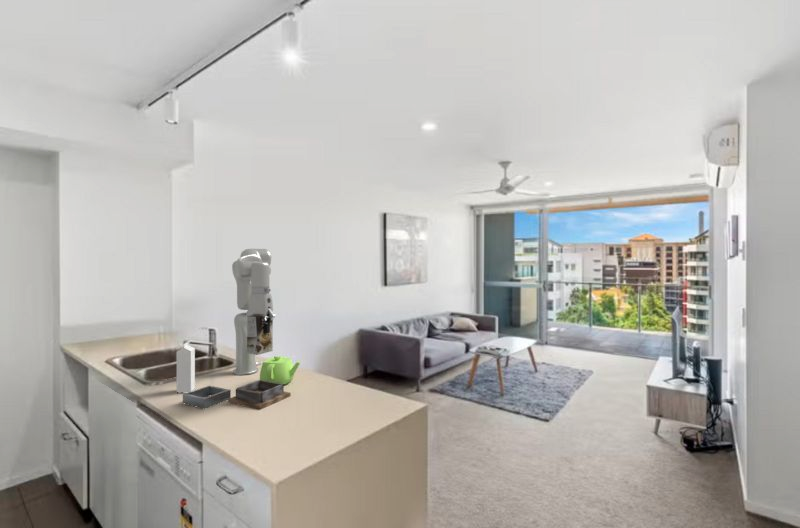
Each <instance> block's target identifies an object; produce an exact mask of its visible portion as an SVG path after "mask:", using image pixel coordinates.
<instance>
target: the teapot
mask: <svg viewBox="0 0 800 528" xmlns="http://www.w3.org/2000/svg"><path fill="white" fill-rule="evenodd" d="M300 365H301V362H297V361H296V362H295V364H293V360H292V358H289V357H288V356H281V355H275V356H273V357H269V358H267V359H266V360H264V361H263V362H262V363H261V368H260V372H259V380H264V381H270V382H276V383H281V384H284V385H287V384H288V383H290V382H292V380H293V379H294V376H295V373H296V371H297V370H298V368H299V366H300Z"/></svg>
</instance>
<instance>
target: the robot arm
mask: <svg viewBox="0 0 800 528" xmlns="http://www.w3.org/2000/svg"><path fill="white" fill-rule="evenodd" d="M271 264H272V253H271V252H270V250H269V249H266V248H246V249H244V250H242V251H241V253H240V255H239V258H237V260H235V261H233V262H232V264H231V270H232V275H233V277H234V280H235V282H236V303H237V305H236V306H237V308H238V310H240V311H246V312H241V313H238V314H236V315H235V316H234V319H233V322H234V329H235V368H234V369H233V370H232V374H233V375H237V376H243V375H244V376H247V375H252V374H255V373H257V372H258V371H259V367H258V366H260V365H261V366H262V361H261V360H260V361H256V355H254V354H247V316H251V315H252V316H262V317H263V318H264V323H265V324H264V325H263V333H264V334H266V333H270V323H271V322H272V320H273V321H274V319H275V317H276V314H275V313H274V307H273V304H274V303H273V298H272V294H271V293H270V292H271V288H270V274H271V272H272V269H271ZM269 315H270V316H269ZM266 318H267V320H266Z"/></svg>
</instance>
